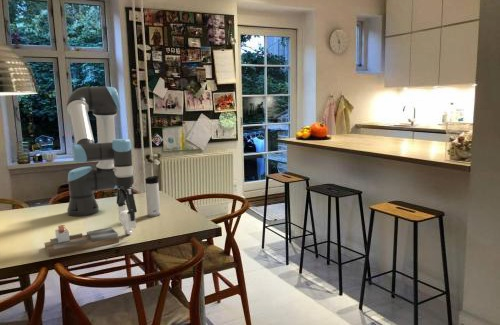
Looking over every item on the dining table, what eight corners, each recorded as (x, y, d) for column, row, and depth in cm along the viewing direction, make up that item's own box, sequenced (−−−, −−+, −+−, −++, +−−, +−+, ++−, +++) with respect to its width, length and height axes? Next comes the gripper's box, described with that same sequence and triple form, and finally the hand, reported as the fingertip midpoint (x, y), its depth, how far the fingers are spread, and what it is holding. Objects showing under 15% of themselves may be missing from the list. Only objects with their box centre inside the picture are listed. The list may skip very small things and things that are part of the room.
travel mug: (157, 217, 203) (155, 177, 199) (145, 216, 204) (142, 177, 201) (162, 213, 209) (160, 174, 206) (150, 213, 210) (148, 174, 207)
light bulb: (139, 234, 178) (137, 209, 176) (125, 238, 173) (123, 213, 171) (130, 231, 182) (129, 207, 180) (117, 235, 177) (115, 210, 175)
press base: (44, 247, 164) (44, 239, 164) (110, 234, 178) (110, 226, 178) (49, 256, 154) (48, 248, 154) (118, 242, 168) (118, 234, 168)
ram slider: (56, 242, 163) (54, 225, 162) (67, 239, 166) (65, 223, 164) (59, 246, 158) (57, 229, 157) (70, 244, 161) (68, 227, 160)
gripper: (107, 172, 181) (110, 219, 185) (123, 181, 161) (127, 233, 164) (124, 170, 186) (127, 216, 189) (142, 178, 165) (145, 229, 168)
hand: (127, 224), depth 176 cm, fingers open, 13 cm apart
